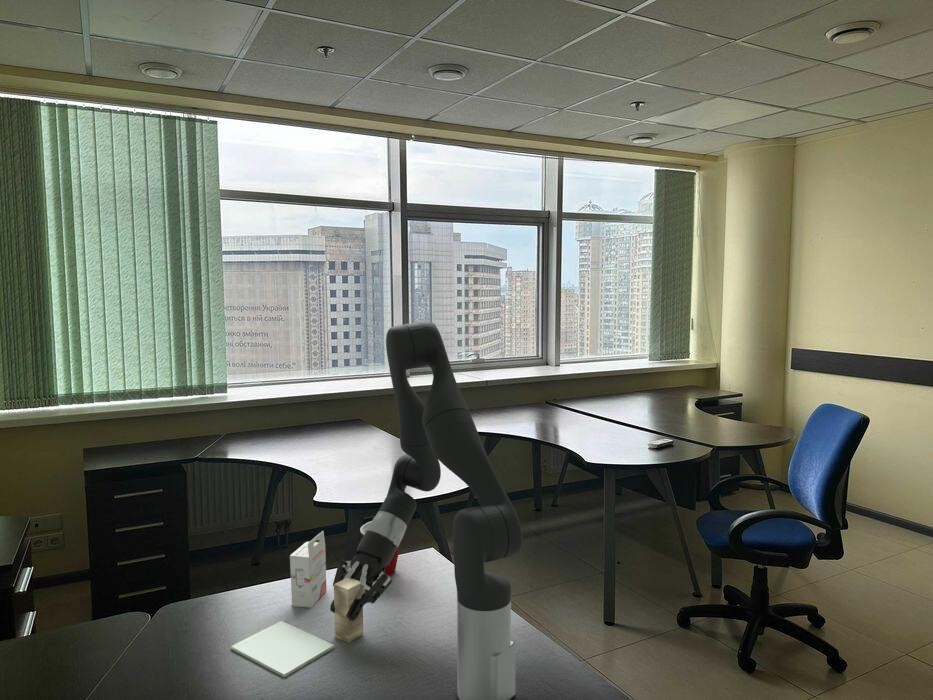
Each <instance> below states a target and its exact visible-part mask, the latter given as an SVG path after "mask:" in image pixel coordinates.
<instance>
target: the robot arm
mask: <svg viewBox="0 0 933 700" xmlns="http://www.w3.org/2000/svg"><path fill="white" fill-rule="evenodd" d="M385 348H386V355H387V356H386V358H387V361H388V362H387V363H388V368H389V373H390V379H391V383H392V388H393V389H392V390H393V394H394V399H395V404H396V409H397V414H398V428H399V430H398V431H399V443H400V444H399V445H400V448H401V450H402V452H404V454H403V455H401V456H400V457H398V459H397V460H396V462H395V463H394V467H393V472H392V476H391V479H390V484H389V487H388V491H387V495H386V497H385V498H384V499H383V502H382V504H381V506H380V507H379V510H378V511H377V513H376V515H375V516H374V517H373V519H372V520H371V521H372V522H371V524H370V525H369V527H368V529H367V531H366V533H365V535H364V536H363V535H362V536H363V537H362V538H361V540H360V542H359V544H358V546H357V548H356V554H355V556H353V558H352V559H351V560H345V559H344V558H341V559H340V560H339V561H338V564H337V565H338V566H337V567H336V572H335V575H334V579H333V583H332V586H333V587H334V584H335V583H337V582H340V581H342V580H344V579H346V578H352V579H355V580H358V581H360V583H361V584H360V589H359V591H358V594H357V599H354V601H353V603H352V605H351V607H350V609H349V611H348V612H347V614H346V617H347V618H348V619H349V620H351V621H354V620H355V619H356V618H357V617H358V615H359V614H360V612H361V610H362V608H363V609H364V606H365V605H366V604H367V603H368V604H369V603H371V605H373V604H375V603H376V602H377V601H378V599H379V598H380V597H381V596H382V595H383V594H384V592H385V591H386V590H387V588H388V587H389V586H390V585H391V584H392V582H393V579H392V578H391V577H390V575H389V576H388V575H386V574H385V573H384V572H385V567H386V566H388V565H389V563H390V561H391V559H392V557H393V555H394V553H395V552H396V550H397V548H398V546H399V544H401V541H402V540H403V537H404V536H405V532H406V530H407V527H408V525H409V523H410V522H411V519H412V518H413V516H414V514H415V512H416V509H417V506H418V505H417V501H416V500H415V498H414V497H412V496H411V495H410V494H409V493H407V492H405V491H406V488H407V487H409V488H413V489H416V490H419V491H422V492H431V491H433V490H435V489H436V487H438V485H439V483H440V482H441V481H440V480H441V475H442V474H441V473H442V472H441V470H442V469H441V464H442V465H443V466H444V467H446V468H447V469H448V470H449V471H450V472H452V473H453V474H454V475H455V476H457V477H458V479H460V480H461V481H462V482H463V483H465V484H466V485H467V487H468V488H469V489H470V490H471V492H472V493H473V494H474V497H476V499H477V501H478V504H479V505H478V506H472V507H467V508H463V509H459V510H458V511H457V512H456V514H455V516H454V519H453V524H452V548H453V549H452V550H453V561H454V562H453V564H454V566H453V568H454V569H453V570H454V572H453V573H454V580H455V581H454V582H455V585H456V587H455V588H456V603H457V604H456V605H457V606H456V611H457V612H456V614H457V615H456V625H457V626H456V627H457V628H456V636H457V637H456V638H457V639H456V646H457V647H456V652H457V653H456V655H457V657H456V664H457V665H456V670H457V671H456V674H457V675H456V676H457V678H456V680H457V682H456V684H457V685H456V687H457V688H456V689H457V690H456V692H457V693H456V694H457V697H458V699H459V700H511V699H512V698H513V697H514V696H516V662H517V661H516V655H517V654H516V647H517V646H516V642H515V641H514V640H511V639H512V638H511V637H512V635H511V634H512V633H511V631H512V629H511V627H512V586H511V582H510V581H509V580H508V579H507V578H506V577H505V576H503V575H501V574H498V573H496V572H492V571H486V570H485V563H489V562H493V561H498V560H502V559H503V560H504V559H507V558H510V557H513V556H515V555H518V554H519V552H520V551H521V550H522V547H523V543H524V542H523V541H524V538H523V529H522V526H521V522H520V519H519V517H518V515H517V511H516V509H515V508H514V506H513V504H512V502H511V499H510V498H509V496H508V495H507V494H508V493H506V491H505V489H504V487H503V485H502V483H501V481H500V479H499V478H498V476H497V474H496V472H495V470H494V467H493V465H492V463H491V461H490V459H489V457H488V454H487V452H486V450H485V448H484V445H483V442H482V440H481V437H480V435H479V432H478V429H477V427H476V424H475V421H474V419H473V416H472V415H471V412H470V410H469V407H468V406H467V403H466V401H465V399H464V396H463V395H462V392H461V390H460V388H459V385H458V382H457V381H456V378H455V375H454V372H453V369H452V365H451V363H450V360H449V356H448V354H447V350H446V347H445V344H444V341H443V338H442V336H441V333H440V331H439V328H438V327H437V325H435V323H434V322H432V321H425V320H424V321H417V322H410V323H405V324H399V325H394V326H391V327H389V329H388V330H387V332H386V337H385ZM422 367H429V368H430V369H431V371H432V377H433V378H432V382H431V387H430V391H429V393H428V397H427V400H426V402H425V403H424V401H423V400H422V399H421V398H420V397H419V396H418V394H417V393H416V391H414V389H413V388H412V385H410V382H409V380H408V377H407V376H408V375H407V370H410V369H411V370H412V369H417V368H422ZM440 463H441V464H440ZM399 547H400V546H399ZM329 610H330V612H332V613H333V614H334V613H335V606H334V599H333V600H332V602H331V604H330V609H329Z"/></svg>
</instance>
